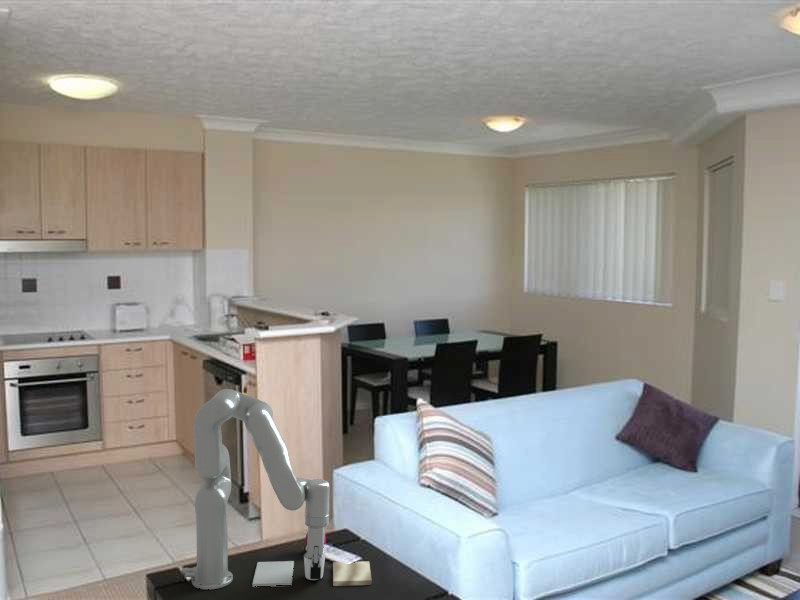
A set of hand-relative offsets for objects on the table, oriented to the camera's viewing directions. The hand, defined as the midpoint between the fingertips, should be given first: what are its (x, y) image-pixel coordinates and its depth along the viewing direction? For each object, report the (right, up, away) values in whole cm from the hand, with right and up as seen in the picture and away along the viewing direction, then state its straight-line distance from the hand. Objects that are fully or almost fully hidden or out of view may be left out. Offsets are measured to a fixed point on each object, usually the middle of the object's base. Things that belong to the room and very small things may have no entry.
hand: (315, 574), depth 232 cm
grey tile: (-14, -1, +2) cm, 14 cm away
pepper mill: (-2, 0, +20) cm, 20 cm away
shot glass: (-1, -1, 0) cm, 1 cm away
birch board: (+11, -1, +2) cm, 12 cm away
